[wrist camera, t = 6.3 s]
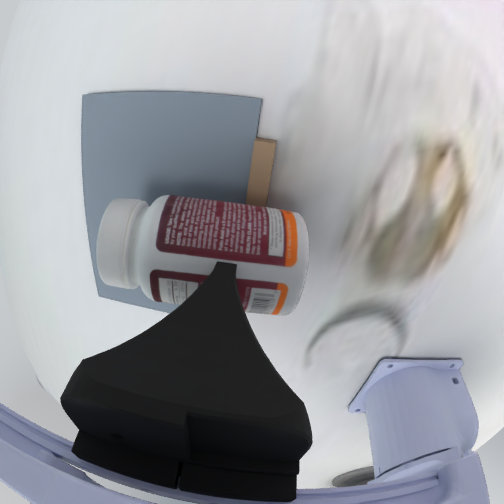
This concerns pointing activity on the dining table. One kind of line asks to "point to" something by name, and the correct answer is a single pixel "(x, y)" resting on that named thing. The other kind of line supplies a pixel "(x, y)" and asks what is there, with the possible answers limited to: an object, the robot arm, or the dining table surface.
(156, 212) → the pill bottle
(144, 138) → the slate mat
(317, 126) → the dining table surface
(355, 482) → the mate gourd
